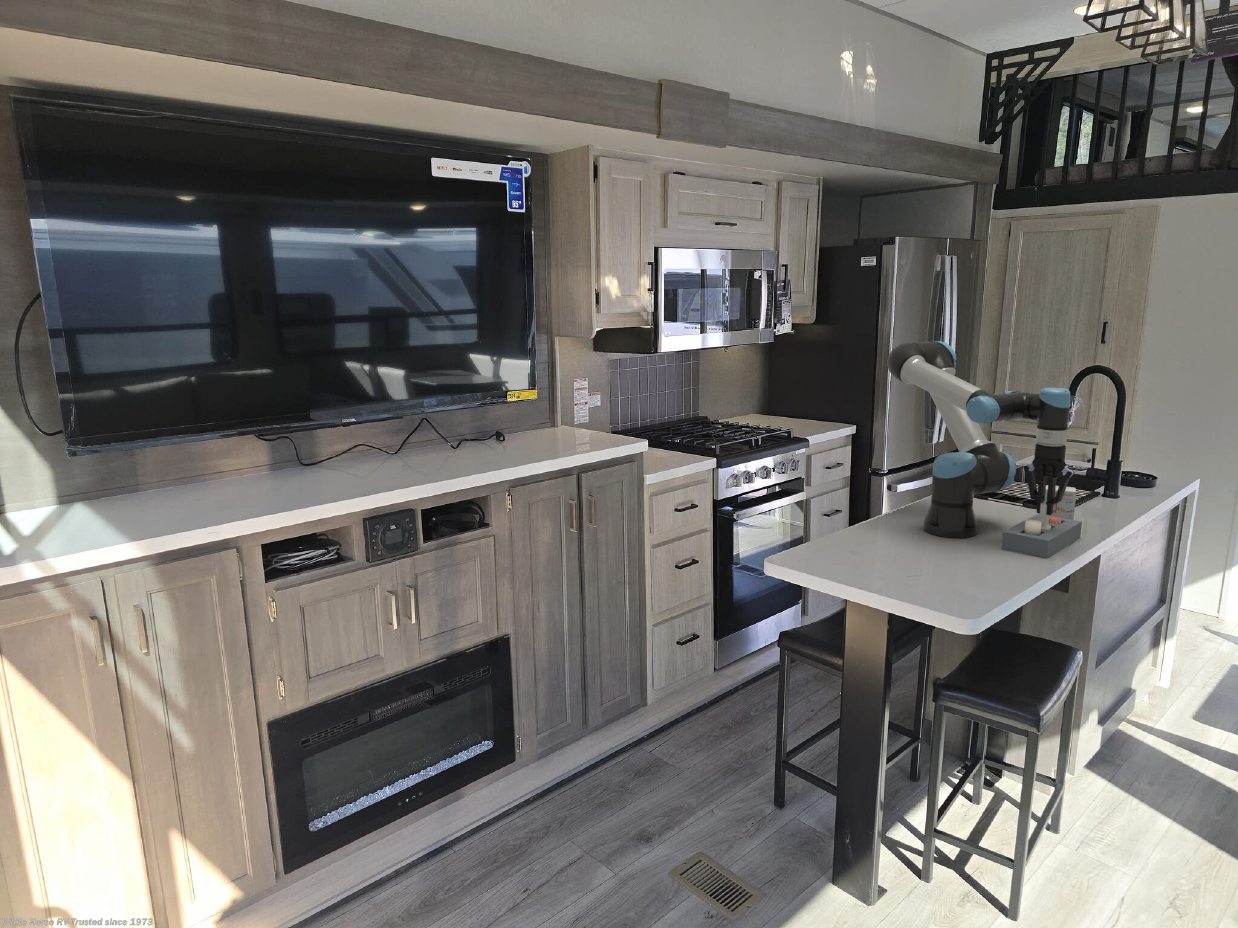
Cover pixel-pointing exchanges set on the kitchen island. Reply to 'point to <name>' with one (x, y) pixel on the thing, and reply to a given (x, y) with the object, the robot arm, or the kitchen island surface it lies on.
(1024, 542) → the grey socket block
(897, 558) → the kitchen island surface
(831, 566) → the kitchen island surface
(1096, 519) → the kitchen island surface
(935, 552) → the kitchen island surface
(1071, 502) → the ink box
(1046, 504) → the robot arm
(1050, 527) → the cream egg
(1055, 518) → the red egg
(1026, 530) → the ivory egg
